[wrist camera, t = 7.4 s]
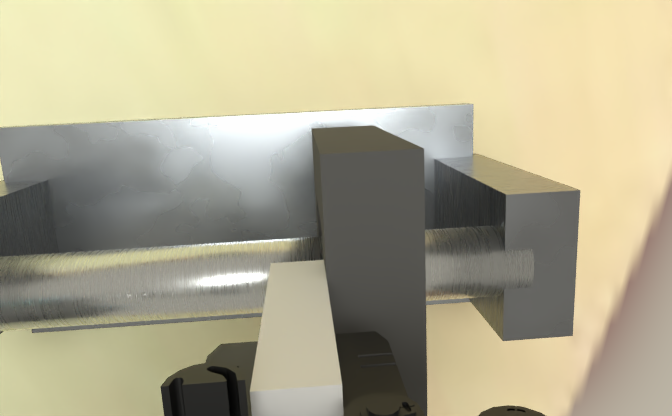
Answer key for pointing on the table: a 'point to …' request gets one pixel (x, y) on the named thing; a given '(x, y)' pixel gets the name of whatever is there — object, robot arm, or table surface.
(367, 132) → the ring
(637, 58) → the table surface
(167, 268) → the pipe rig
